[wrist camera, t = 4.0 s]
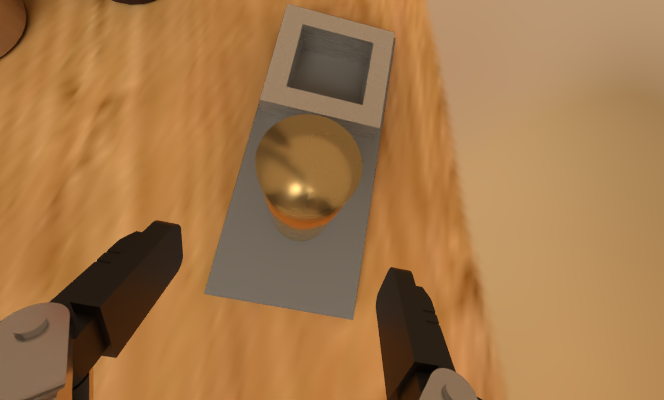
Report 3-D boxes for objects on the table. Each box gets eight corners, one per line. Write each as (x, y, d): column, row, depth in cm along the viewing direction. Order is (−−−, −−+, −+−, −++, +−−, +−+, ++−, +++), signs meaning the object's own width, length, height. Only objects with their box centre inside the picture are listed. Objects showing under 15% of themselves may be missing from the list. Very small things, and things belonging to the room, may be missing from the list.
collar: (370, 143, 22) (379, 128, 20) (263, 118, 21) (259, 99, 19) (384, 55, 24) (394, 32, 22) (288, 30, 23) (287, 3, 21)
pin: (265, 196, 20) (241, 129, 10) (317, 180, 21) (340, 103, 11) (283, 249, 19) (275, 230, 9) (336, 230, 20) (378, 194, 10)
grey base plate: (350, 317, 20) (352, 319, 19) (208, 292, 19) (204, 293, 18) (391, 46, 26) (395, 38, 25) (286, 18, 25) (286, 9, 24)
